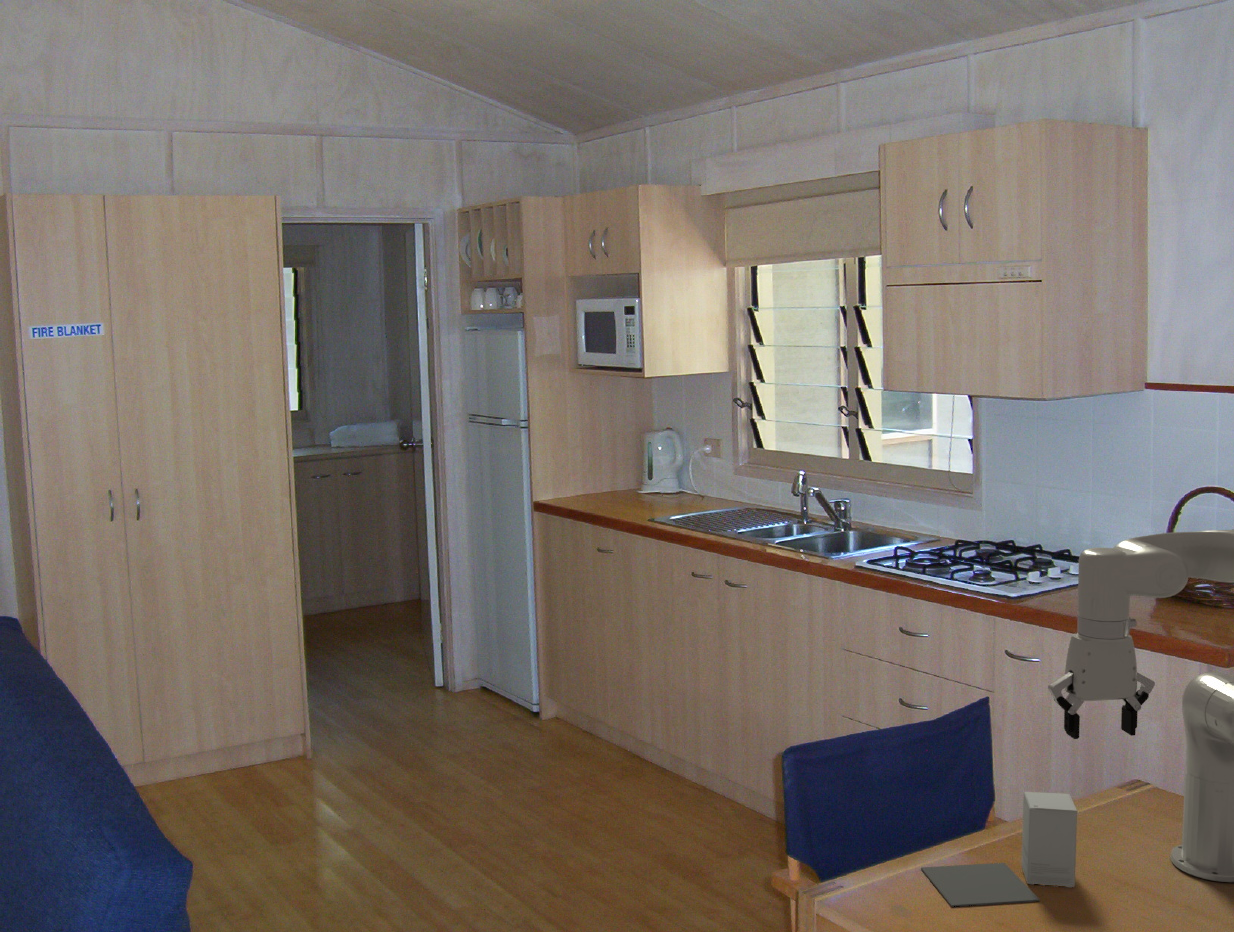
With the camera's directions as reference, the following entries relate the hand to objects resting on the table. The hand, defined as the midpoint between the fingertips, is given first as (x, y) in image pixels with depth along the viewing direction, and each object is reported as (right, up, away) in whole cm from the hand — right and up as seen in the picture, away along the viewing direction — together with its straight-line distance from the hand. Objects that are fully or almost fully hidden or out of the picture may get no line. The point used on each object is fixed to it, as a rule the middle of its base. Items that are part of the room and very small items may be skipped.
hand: (1100, 734), depth 194 cm
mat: (-19, -23, -1) cm, 31 cm away
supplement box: (-8, -23, +2) cm, 25 cm away
